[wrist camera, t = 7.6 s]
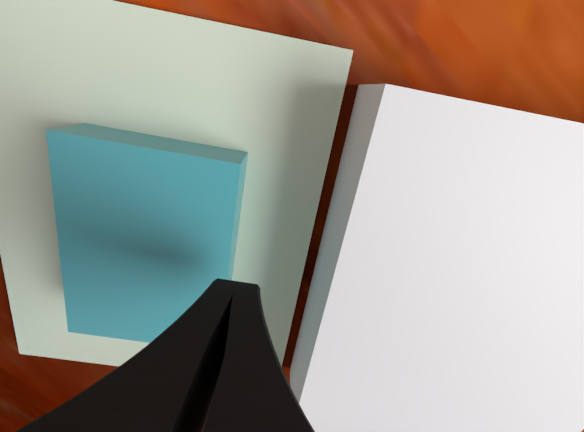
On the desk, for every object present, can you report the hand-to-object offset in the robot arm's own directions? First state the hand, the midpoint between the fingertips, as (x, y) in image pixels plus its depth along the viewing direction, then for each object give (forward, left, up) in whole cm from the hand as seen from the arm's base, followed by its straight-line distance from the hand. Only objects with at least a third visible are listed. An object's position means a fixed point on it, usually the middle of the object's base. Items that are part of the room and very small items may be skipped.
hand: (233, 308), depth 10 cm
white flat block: (0, -9, -4) cm, 10 cm away
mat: (0, +4, -4) cm, 6 cm away
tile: (0, +4, -2) cm, 4 cm away
